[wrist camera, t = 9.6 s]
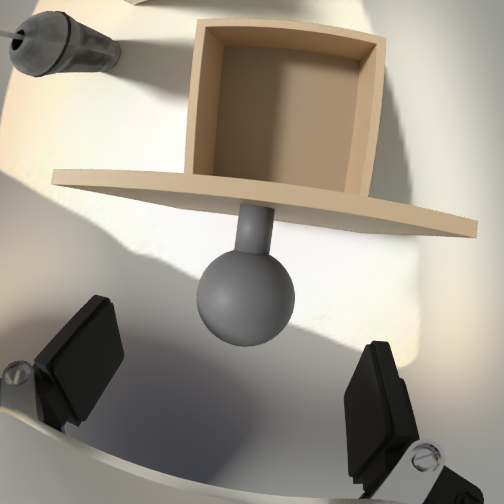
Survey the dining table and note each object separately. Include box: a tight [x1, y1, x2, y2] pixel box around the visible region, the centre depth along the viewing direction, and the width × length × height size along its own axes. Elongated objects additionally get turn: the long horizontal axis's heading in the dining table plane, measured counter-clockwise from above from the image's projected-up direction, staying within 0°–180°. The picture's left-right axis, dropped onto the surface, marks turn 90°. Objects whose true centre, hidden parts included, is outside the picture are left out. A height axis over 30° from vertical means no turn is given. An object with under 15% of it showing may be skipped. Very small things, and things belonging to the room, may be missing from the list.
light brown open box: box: [184, 18, 386, 197], centre depth 26 cm, size 17×16×8 cm
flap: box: [51, 169, 478, 347], centre depth 18 cm, size 17×16×6 cm
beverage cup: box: [0, 11, 120, 77], centre depth 19 cm, size 7×7×20 cm
